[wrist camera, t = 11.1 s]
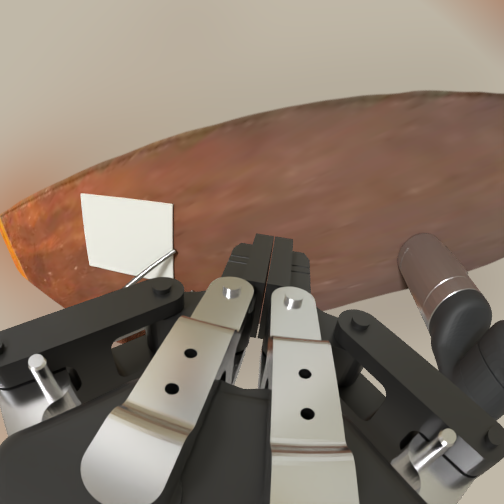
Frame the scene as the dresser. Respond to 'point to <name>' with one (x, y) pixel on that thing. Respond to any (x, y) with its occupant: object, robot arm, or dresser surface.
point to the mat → (128, 234)
